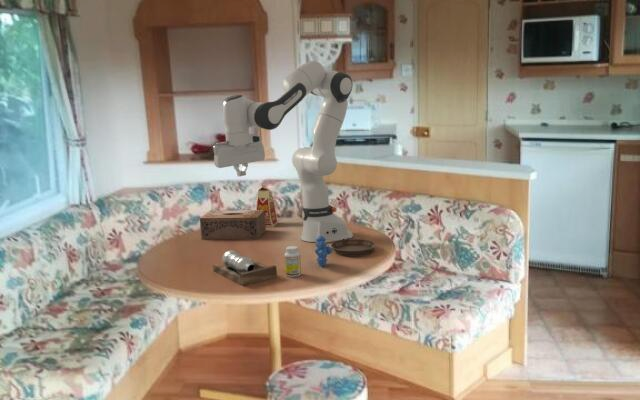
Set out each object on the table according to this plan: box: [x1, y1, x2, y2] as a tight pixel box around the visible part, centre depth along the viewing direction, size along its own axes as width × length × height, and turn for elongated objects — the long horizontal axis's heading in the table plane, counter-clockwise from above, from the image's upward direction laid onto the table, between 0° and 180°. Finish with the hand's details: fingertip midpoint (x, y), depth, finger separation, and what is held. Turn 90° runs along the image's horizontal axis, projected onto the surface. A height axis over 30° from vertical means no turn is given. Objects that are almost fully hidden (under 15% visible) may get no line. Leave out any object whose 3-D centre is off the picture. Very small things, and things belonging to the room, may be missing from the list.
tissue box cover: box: [199, 209, 266, 240], centre depth 282 cm, size 26×14×10 cm, turn 82°
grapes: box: [314, 236, 334, 267], centre depth 231 cm, size 12×7×12 cm, turn 7°
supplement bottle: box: [284, 245, 302, 278], centre depth 222 cm, size 6×6×10 cm
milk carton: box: [256, 184, 278, 228], centre depth 297 cm, size 9×9×20 cm
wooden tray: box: [212, 259, 278, 287], centre depth 227 cm, size 23×14×4 cm, turn 36°
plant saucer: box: [330, 238, 377, 257], centre depth 249 cm, size 18×18×3 cm
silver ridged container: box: [221, 249, 256, 274], centre depth 228 cm, size 6×7×20 cm
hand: (241, 175), depth 237 cm, fingers closed
